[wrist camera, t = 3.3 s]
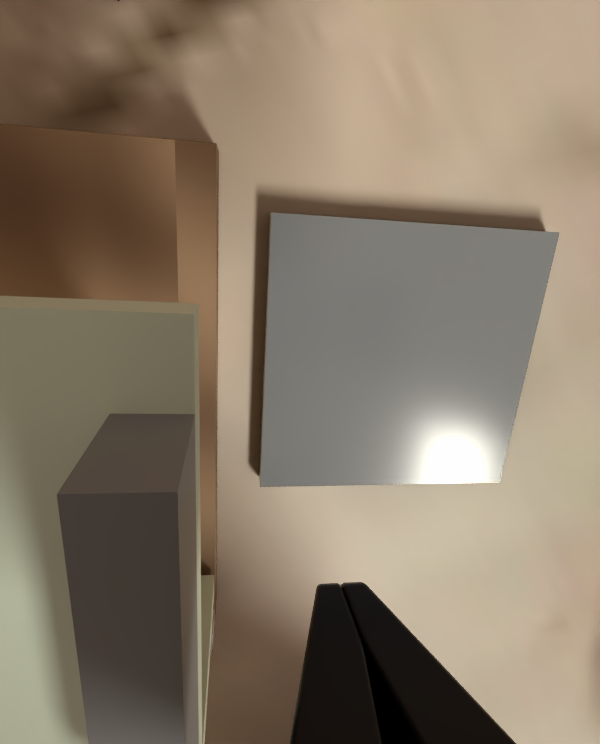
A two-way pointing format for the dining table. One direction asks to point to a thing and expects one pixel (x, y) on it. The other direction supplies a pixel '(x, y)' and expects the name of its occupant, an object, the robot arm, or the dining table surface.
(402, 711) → the robot arm
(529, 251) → the coaster
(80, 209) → the board
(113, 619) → the lid
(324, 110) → the dining table surface
